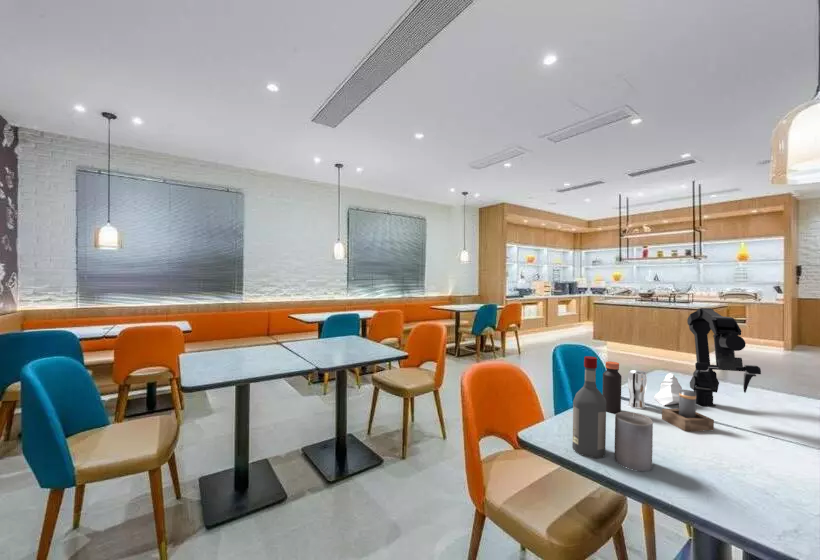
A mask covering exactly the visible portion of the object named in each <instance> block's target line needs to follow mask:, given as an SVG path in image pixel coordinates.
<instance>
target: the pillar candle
mask: <svg viewBox="0 0 820 560" xmlns="http://www.w3.org/2000/svg"><path fill="white" fill-rule="evenodd" d="M614 417H615V420H614V452H613V453H614V456H613V457H614V461H615V463H617V464H618V465H619V464H620V465H619V466H621V465H622V466H621V467H623V466H624V467H623V468H625V467H627V468H629V470H630V469H633V470H632V471H634V470H637V471H636V472H646V471H647V472H649V471H651V470H652V469H653V446H654V445H653V438H654V437H653V435H654V431H653V430H654V429H653V428H654V425H653V424H654V422H653V420H652V419H651V418H650V417H648V416H645V415H643V414H640V413H635V412H629V411H625V412H624V411H621V412H619V413H615V416H614ZM627 468H626V469H627Z"/></svg>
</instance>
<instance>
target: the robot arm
mask: <svg viewBox="0 0 820 560" xmlns="http://www.w3.org/2000/svg"><path fill="white" fill-rule="evenodd" d="M686 321H687V322H686V323H687V325H688V328H689V331H690V332H691V333H692V334H693V335H694V344H695V357H696V358H695V359H696V362H695V363H694V365H695V370H694V371H693V373H692V374H693V376H692V377H691V380H690V381H689V388H691V389H692V391H694V392H696V405H698V406H701V407H716V404H715V403H714V396H713V395H714V393H718V390H719V385H720V381H719V380H718V379H719V378H718V377H717V372H716V371H717V370H718V371H729V372H730V371H731V372H744V373H743V392H744V394H745V393H746V392H747V389H748V387H749V383H750V382H751V380H752V378H753V377H757V375H762V371H761V367H759V366H758V365H755V364H754V365H751V364H750V365H749V364H744V366H743V358H742V357H736V353H735V351H736V352H737V351H742V350H744V349H745V347H746V341H745V339H744V338H743V337H742V329H741V327H740V326H739V324H738V322H737V320H736V319H735V318H734V317H729V316H723V315H721V314H719V313H718V312H716V311H715V310H714V309H713V308H710V307H700V308H697V310H696V311H694V312H691V313H689V315H688V318H687V320H686ZM711 331H712V333H713V336H712V337H713V343H714V354H715V364H711V359H710V348H709V337H708V335H709V333H710V332H711ZM715 370H716V371H715Z"/></svg>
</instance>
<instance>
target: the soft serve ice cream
mask: <svg viewBox="0 0 820 560" xmlns="http://www.w3.org/2000/svg"><path fill="white" fill-rule="evenodd" d="M659 388H660V389H659V391H658V392H657V393H656V394H655V395H654V400H655V401H657V402H658V404H660V405H661V404H662V405H663V407H664V406H665V405H666V406H670V405H671V406H672V405H677V404H678V405H679V390H683V387H682V386H681V383H679V380H678V378H677V377H675V374H674V373H671V372H669V373H667V374H666V375H665V378H664V379H663V381H662V382H661V383H660V387H659ZM662 405H661V406H662Z"/></svg>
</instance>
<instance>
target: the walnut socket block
mask: <svg viewBox="0 0 820 560" xmlns="http://www.w3.org/2000/svg"><path fill="white" fill-rule="evenodd" d="M661 420H663V421H665V422H667V423H669V424H670V425H673V426H675V428H678V429H680V430H682V431H684V432H704V431H703V430H714V427H715V426H714V424H715V420H714V419H713V418H711V417H708V416H706V415H703V414H701V413H699V412H697V411H696V416H695V418H685V417H683V416H681V415H679V408H662V409H661Z"/></svg>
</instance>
